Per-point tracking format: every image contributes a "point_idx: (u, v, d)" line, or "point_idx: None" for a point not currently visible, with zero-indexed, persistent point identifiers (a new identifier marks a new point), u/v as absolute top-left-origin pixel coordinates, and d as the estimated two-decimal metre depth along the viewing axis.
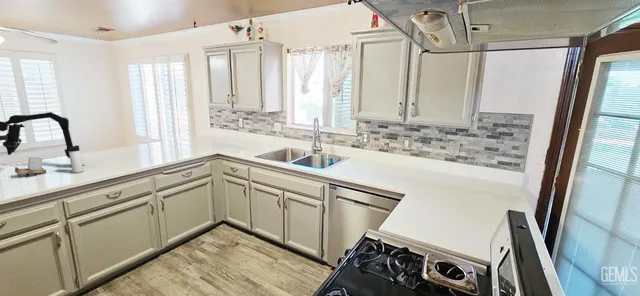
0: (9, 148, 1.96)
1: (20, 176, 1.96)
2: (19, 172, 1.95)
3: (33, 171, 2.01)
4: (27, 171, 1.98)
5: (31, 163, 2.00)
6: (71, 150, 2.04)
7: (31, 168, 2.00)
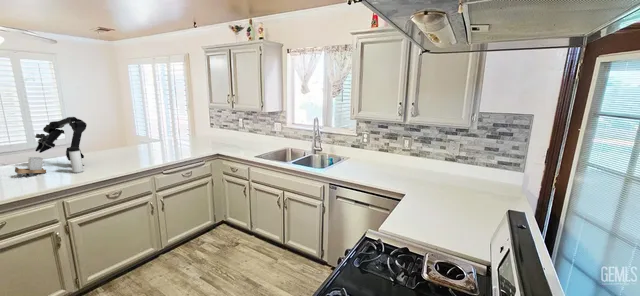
0: (45, 147, 2.15)
1: (20, 176, 1.96)
2: (19, 172, 1.95)
3: (33, 171, 2.01)
4: (27, 171, 1.98)
5: (31, 163, 2.00)
6: (71, 150, 2.04)
7: (31, 168, 2.00)
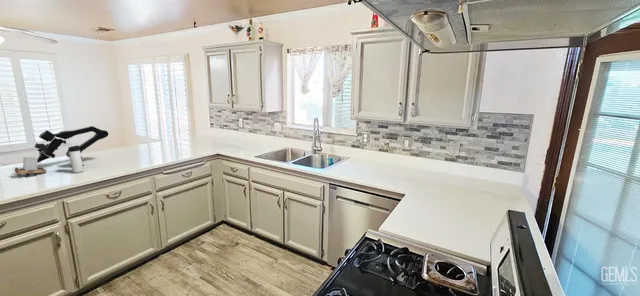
0: (42, 157, 2.06)
1: (20, 176, 1.96)
2: (19, 172, 1.95)
3: (33, 171, 2.01)
4: (27, 171, 1.98)
5: (26, 163, 1.98)
6: (71, 150, 2.04)
7: (26, 168, 1.98)
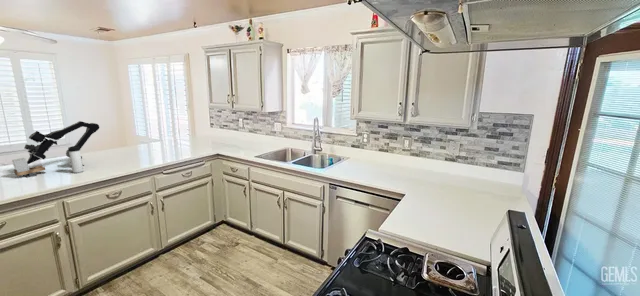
0: (33, 158, 2.01)
1: (20, 176, 1.96)
2: (19, 174, 1.95)
3: (32, 171, 2.00)
4: (26, 172, 1.98)
5: (16, 166, 1.94)
6: (71, 150, 2.04)
7: (18, 170, 1.95)
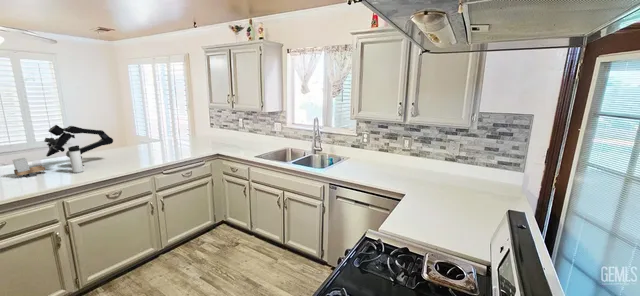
0: (52, 151, 2.10)
1: (20, 176, 1.96)
2: (19, 174, 1.95)
3: (32, 171, 2.00)
4: (26, 172, 1.98)
5: (16, 165, 1.94)
6: (71, 150, 2.04)
7: (18, 170, 1.95)
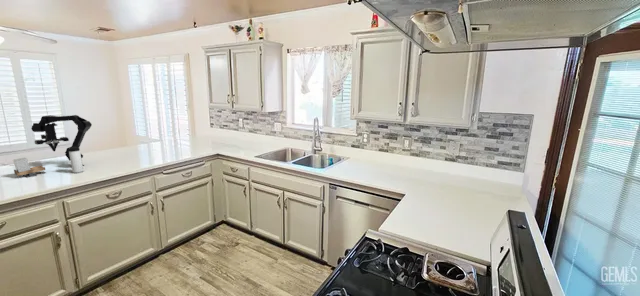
0: None
1: (20, 176, 1.96)
2: (19, 174, 1.95)
3: (32, 171, 2.00)
4: (26, 172, 1.98)
5: (17, 165, 1.94)
6: (71, 150, 2.04)
7: (19, 170, 1.95)
